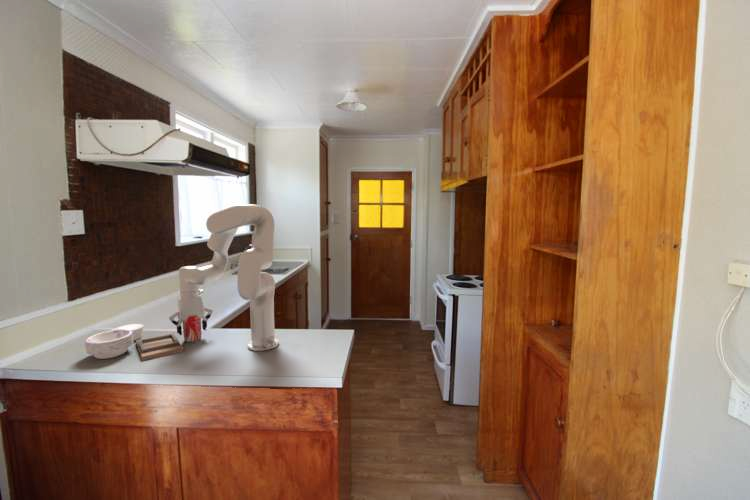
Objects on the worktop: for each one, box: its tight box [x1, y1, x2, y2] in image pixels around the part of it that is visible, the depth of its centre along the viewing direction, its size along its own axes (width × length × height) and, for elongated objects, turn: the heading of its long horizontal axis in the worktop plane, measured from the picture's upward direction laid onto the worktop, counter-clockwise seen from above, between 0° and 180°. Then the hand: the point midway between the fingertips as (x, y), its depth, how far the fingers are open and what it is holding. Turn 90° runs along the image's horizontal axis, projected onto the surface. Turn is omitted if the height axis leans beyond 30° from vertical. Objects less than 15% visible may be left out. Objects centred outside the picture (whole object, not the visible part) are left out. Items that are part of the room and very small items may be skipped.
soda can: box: [182, 315, 203, 343], centre depth 154 cm, size 7×7×12 cm
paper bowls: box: [84, 329, 134, 360], centre depth 139 cm, size 15×15×8 cm
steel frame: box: [138, 333, 180, 353], centre depth 146 cm, size 13×13×1 cm
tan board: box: [135, 332, 184, 361], centre depth 147 cm, size 22×14×2 cm, turn 39°
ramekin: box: [113, 323, 144, 342], centre depth 156 cm, size 11×11×5 cm
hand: (192, 331), depth 154 cm, fingers open, 9 cm apart
